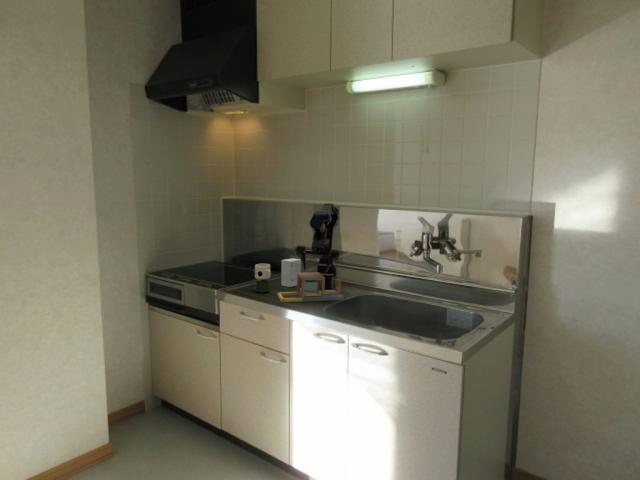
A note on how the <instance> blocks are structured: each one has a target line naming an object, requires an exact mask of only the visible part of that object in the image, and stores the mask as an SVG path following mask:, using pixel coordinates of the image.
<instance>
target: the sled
mask: <svg viewBox="0 0 640 480" xmlns="http://www.w3.org/2000/svg"><path fill="white" fill-rule="evenodd" d="M334 283H335V285H334V289H328V290H324V294H342V280H341V279H340V278H335V282H334ZM300 293H301V294H302V288H300ZM321 294H322V290H321V289H320V288H319V289H318V288H317V291H305V293H304V296H321Z"/></svg>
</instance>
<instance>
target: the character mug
mask: <svg viewBox="0 0 640 480" xmlns="http://www.w3.org/2000/svg"><path fill="white" fill-rule="evenodd" d="M271 276H272V275H271V264H270V263H257V264H255V265H254V278H255V279H257V280H256V285H255V292H256V293H257V292H258V293H263V294H264V293H266V292H269V291H270V286H269V285H270V284H269V279H270V278H271Z"/></svg>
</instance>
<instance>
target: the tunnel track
mask: <svg viewBox="0 0 640 480" xmlns="http://www.w3.org/2000/svg"><path fill="white" fill-rule="evenodd" d="M305 280H316V281H317V288H318V289H319V290H320V288H319V286H320V285H319V283H320V281H321V280H322V289H321V291H322V294H321V296H304V293H305ZM300 288H302V294H301V293H300ZM324 290H325V277H324V276H322V275H321V274H320V273H319V272H317V271H316V272H315V271H314V272H313V271H311V272H304V271H303V272H301V273H297V285H296V291H283V292H281V291H279V292H277V297H278V299H279V300H280V302H281V303H300V302H301V303H302V302H303V303H304V302H322V301H324V302H327V301H328V302H329V301H344V299H345V297H344V295H342V293H340V294H324Z"/></svg>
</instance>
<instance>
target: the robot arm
mask: <svg viewBox="0 0 640 480" xmlns="http://www.w3.org/2000/svg"><path fill="white" fill-rule="evenodd" d="M340 217H341V216H340V210H339V208H337V207H336V206H335V204H334V203H323V206H322V208H321V209H320V210H316V211H314V213H313V214H312V216H311V219H310V221H309V226H310V229H311V230H312V232H313V233H312V242H311V248H310V249H307V248H306V246H305V245H297V246H296V247H295V256H298V258H299V259H300V260H301V264H302V267H303V272H304V271H306V262H307V261H306V257H307V256H306V254H308V255H315V256H321V257H319V261H318V264H317V265H316V266H317V268H316V270H317V271H316V272H319V273H320V274H321V275H322V276H324V277H325V290H335V287H334V286H333V278H335V277H338V276H337V274H338V271H337V266H336V264H335V262H336V261H339V258H340V251H339V250H335V249H333V247H334V236H335V228H336V227H337V226H338V224H339V221H340ZM319 290H322V280H320V285H319Z"/></svg>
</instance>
